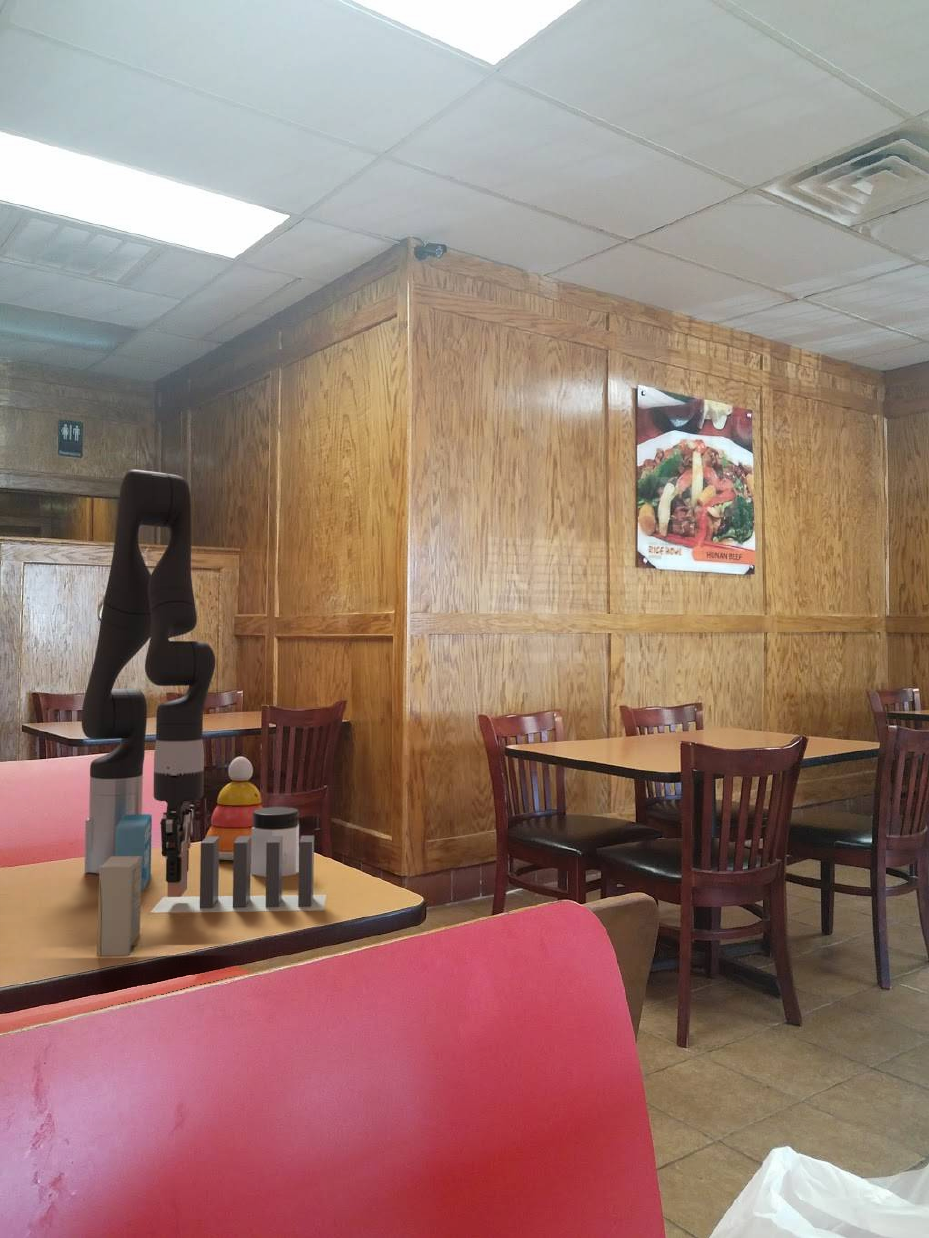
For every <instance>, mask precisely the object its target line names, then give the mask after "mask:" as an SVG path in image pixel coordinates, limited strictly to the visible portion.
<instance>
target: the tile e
mask: <svg viewBox="0 0 929 1238" xmlns="http://www.w3.org/2000/svg"><path fill="white" fill-rule="evenodd" d="M314 861H315V835H301V836H300V837H299V861H298V882H297V883H298V885H297V886H298V892H297V893H298V894H297V895H298V907H311V905H312V901H313V895H314V873H315V871H314V869H315V867H314V866H315V862H314Z"/></svg>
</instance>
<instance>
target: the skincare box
mask: <svg viewBox="0 0 929 1238" xmlns="http://www.w3.org/2000/svg"><path fill="white" fill-rule="evenodd" d="M141 873H142V856H111V857H110V858H109V859H107V860H106V861H105V862H104V863H103V864H102V865H101V866H100V867H99V874H98V879H99V880H98V899H97V900H98V901H97V905H98V906H97V933H96V934H97V935H96V937H97V940H96V941H97V942H96V956H97V957H118V956H119V957H128V956H129V955H131V953H133V951H134V950H135V948H136V947H137V946H138V945H137V944H135V945H134V942H136V940H137V939H138V937H139V936H140V934H141V906H142V903H141V902H142V891H141Z"/></svg>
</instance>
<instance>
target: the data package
mask: <svg viewBox="0 0 929 1238" xmlns="http://www.w3.org/2000/svg"><path fill="white" fill-rule="evenodd" d="M152 818H153V817H152V814H151V813H146V814H145V813H144V814H143V813H142V814H137V815H124V817H123V818H122V819H121V821H120V822H119V824H118V825H117V828H116V850H115V856H142V873H141V892H144V891H145V889H146V886H147V884H148V882H149V880H150V877H151V874H152V830H153V829H152V826H153V824H152V822H153V821H152Z"/></svg>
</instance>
